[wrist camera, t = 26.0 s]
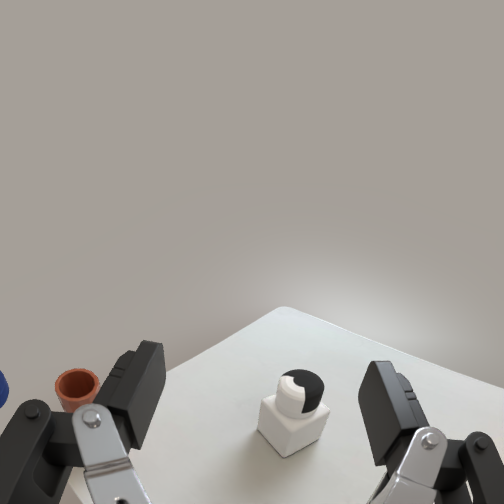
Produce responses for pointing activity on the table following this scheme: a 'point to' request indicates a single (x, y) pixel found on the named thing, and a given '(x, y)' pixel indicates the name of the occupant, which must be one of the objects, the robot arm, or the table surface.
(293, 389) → the medicine bottle
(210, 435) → the table surface
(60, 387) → the tube
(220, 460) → the table surface
